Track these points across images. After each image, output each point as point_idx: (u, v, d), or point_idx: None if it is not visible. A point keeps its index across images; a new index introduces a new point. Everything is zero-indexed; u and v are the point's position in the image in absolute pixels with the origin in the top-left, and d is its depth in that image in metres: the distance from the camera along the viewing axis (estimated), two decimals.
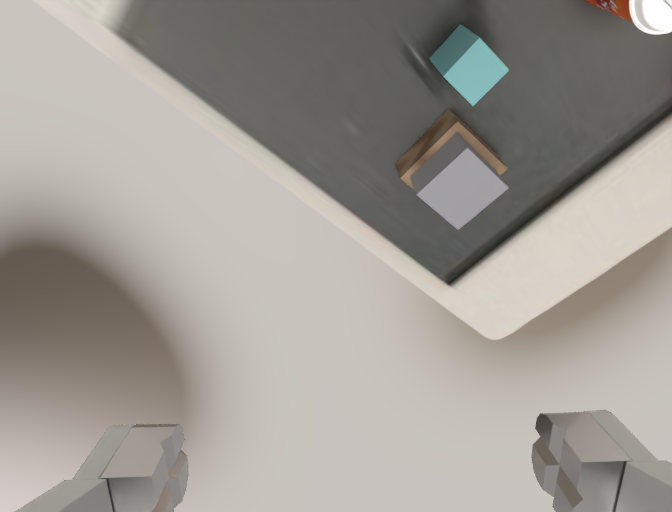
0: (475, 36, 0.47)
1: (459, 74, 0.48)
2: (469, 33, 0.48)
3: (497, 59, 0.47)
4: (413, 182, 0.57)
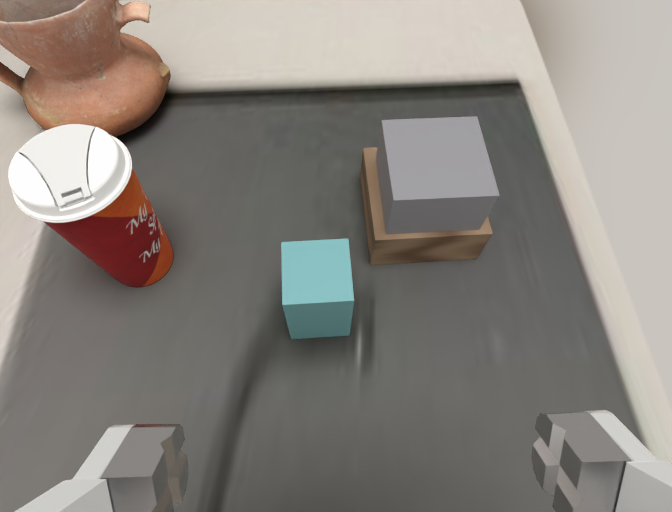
0: (285, 310, 0.32)
1: (335, 286, 0.31)
2: (289, 320, 0.34)
3: (283, 264, 0.32)
4: (484, 217, 0.36)
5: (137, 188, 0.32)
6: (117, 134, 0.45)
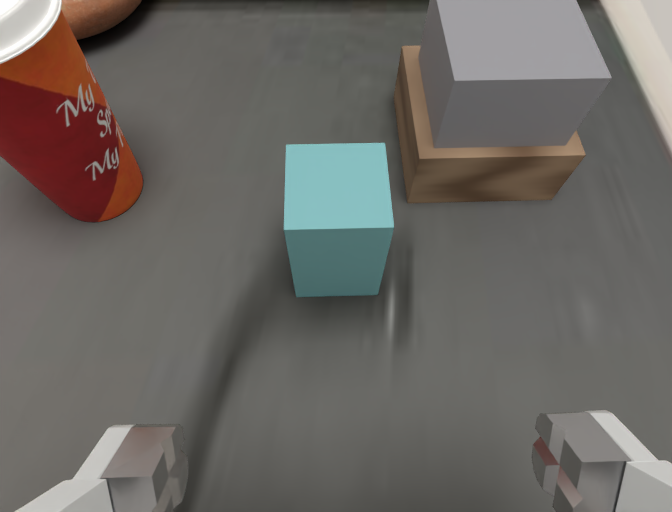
0: (289, 242, 0.21)
1: (364, 206, 0.21)
2: (294, 262, 0.23)
3: (288, 173, 0.21)
4: (578, 121, 0.25)
5: (75, 54, 0.21)
6: (81, 33, 0.35)
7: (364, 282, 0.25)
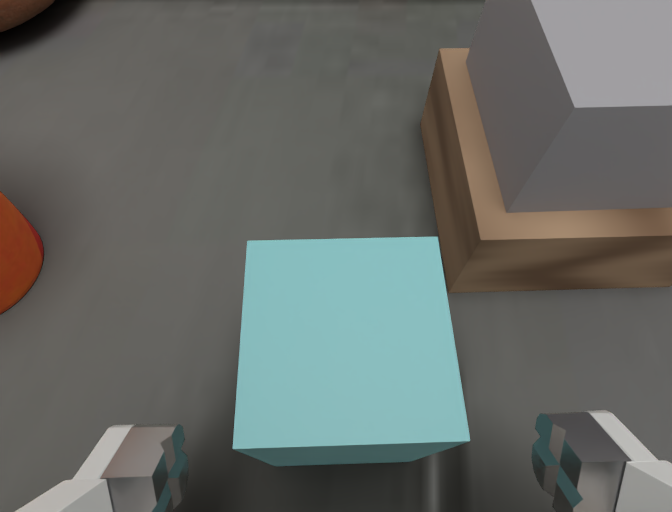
0: (248, 452, 0.10)
1: (405, 385, 0.10)
2: (264, 458, 0.12)
3: (248, 306, 0.11)
4: None
5: None
6: None
7: (391, 459, 0.15)
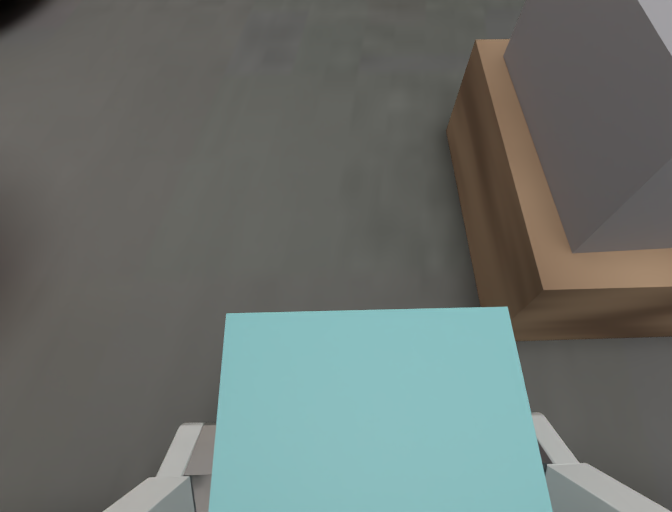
0: None
1: None
2: None
3: (225, 424, 0.07)
4: None
5: None
6: None
7: None
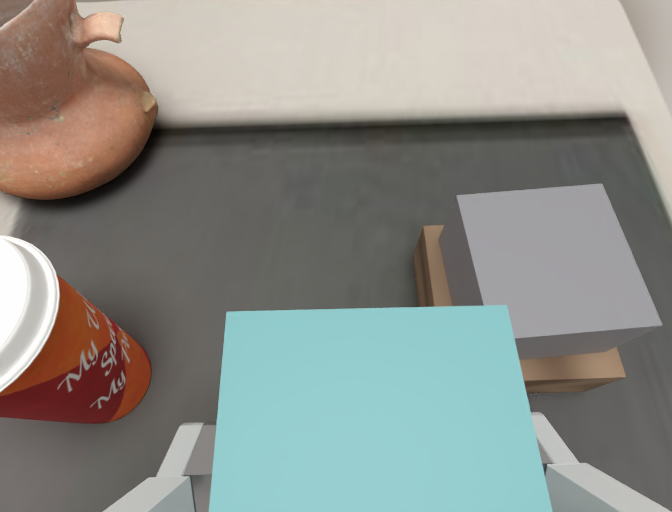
0: None
1: None
2: None
3: (226, 422, 0.07)
4: (622, 342, 0.23)
5: (75, 327, 0.20)
6: (83, 191, 0.34)
7: None
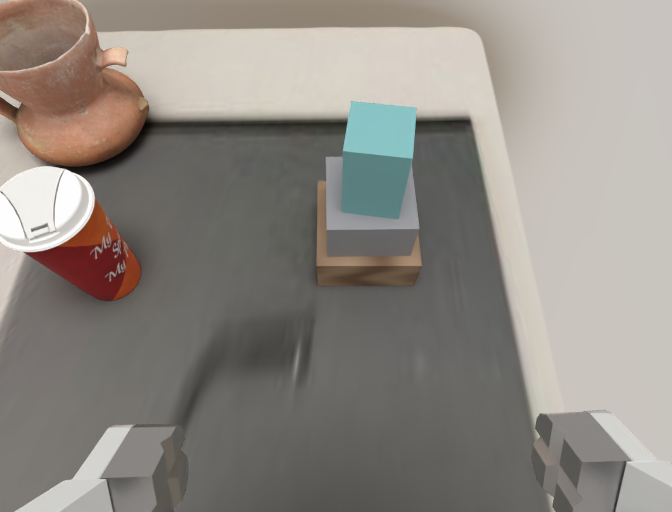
0: (344, 161, 0.33)
1: (396, 144, 0.32)
2: (345, 179, 0.35)
3: (350, 118, 0.33)
4: (411, 245, 0.41)
5: (101, 220, 0.37)
6: (98, 161, 0.51)
7: (390, 205, 0.37)
